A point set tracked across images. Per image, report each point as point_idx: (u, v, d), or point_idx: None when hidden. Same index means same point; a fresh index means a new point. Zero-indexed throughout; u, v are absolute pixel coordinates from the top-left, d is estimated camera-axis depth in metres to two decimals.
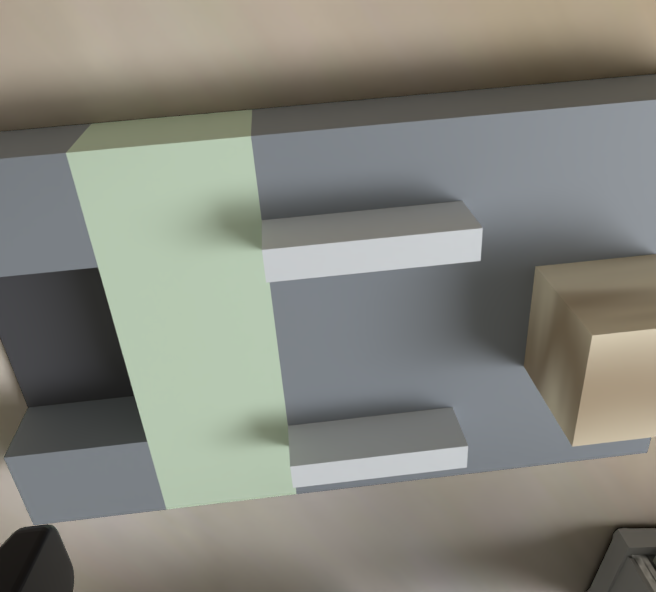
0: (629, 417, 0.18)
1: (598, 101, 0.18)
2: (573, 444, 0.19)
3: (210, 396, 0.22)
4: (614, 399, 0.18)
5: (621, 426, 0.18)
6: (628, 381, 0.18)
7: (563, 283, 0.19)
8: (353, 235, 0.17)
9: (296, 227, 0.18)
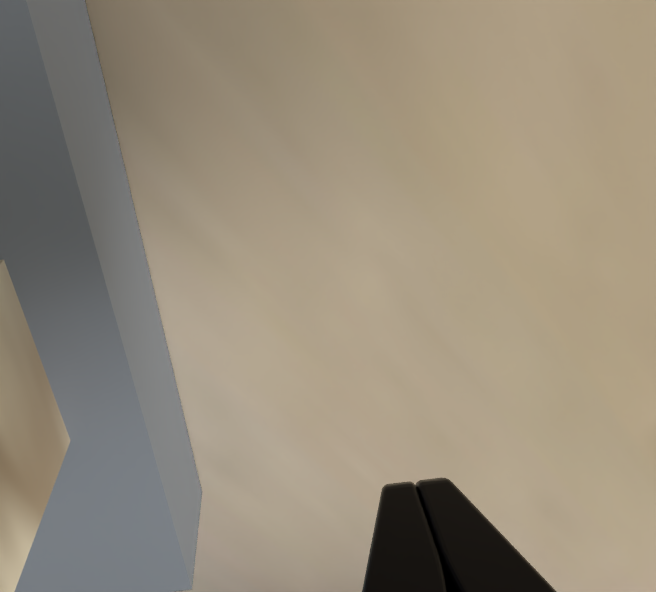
0: None
1: None
2: None
3: None
4: None
5: None
6: None
7: None
8: None
9: None
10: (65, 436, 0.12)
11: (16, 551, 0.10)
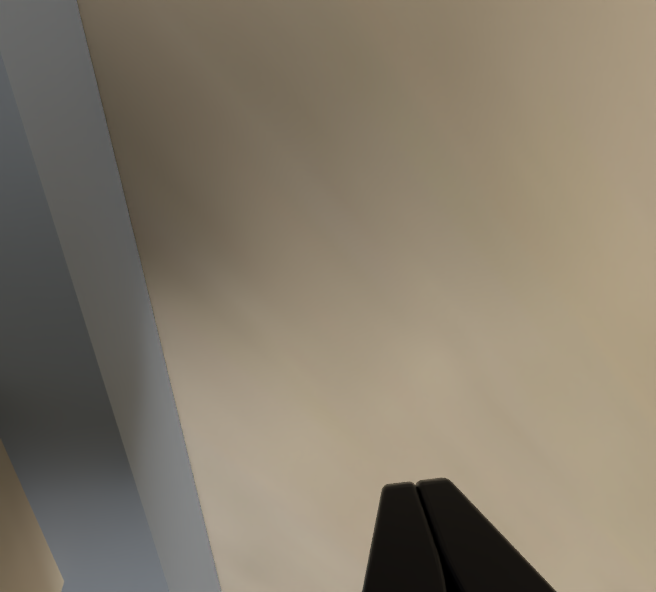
0: None
1: None
2: None
3: None
4: None
5: None
6: None
7: None
8: None
9: None
10: (58, 579, 0.09)
11: None
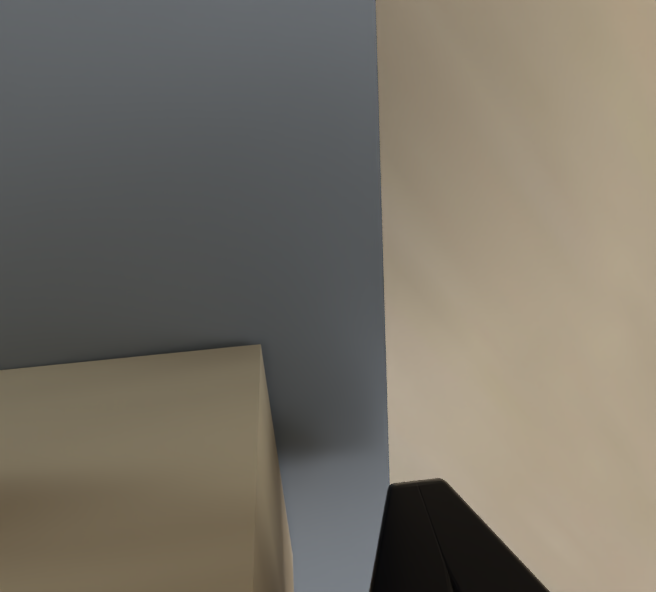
0: None
1: None
2: None
3: None
4: None
5: None
6: None
7: None
8: None
9: None
10: (291, 552, 0.10)
11: None
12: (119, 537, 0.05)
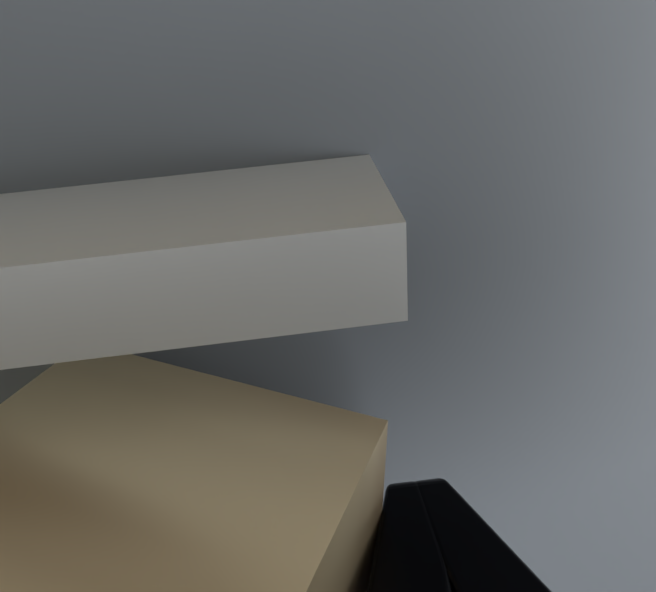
0: None
1: None
2: None
3: None
4: None
5: None
6: None
7: (36, 407, 0.07)
8: (7, 251, 0.06)
9: None
10: None
11: None
12: None
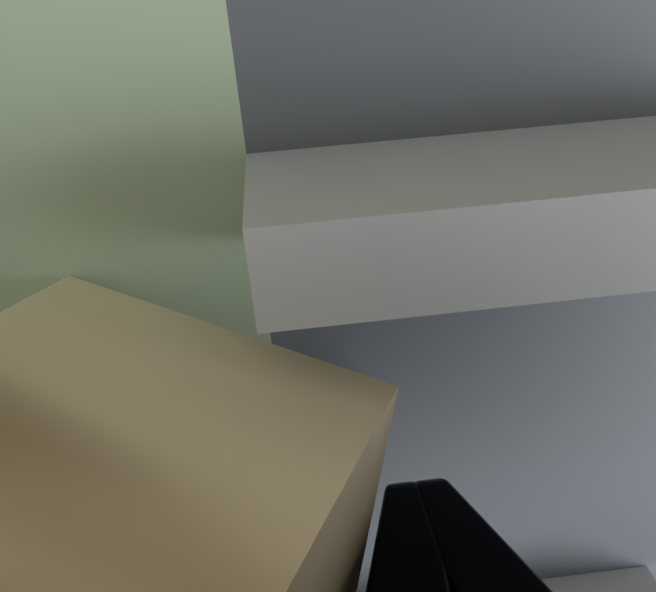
0: None
1: None
2: None
3: None
4: None
5: None
6: None
7: (11, 334, 0.06)
8: (533, 185, 0.05)
9: (346, 167, 0.06)
10: None
11: None
12: (114, 546, 0.04)
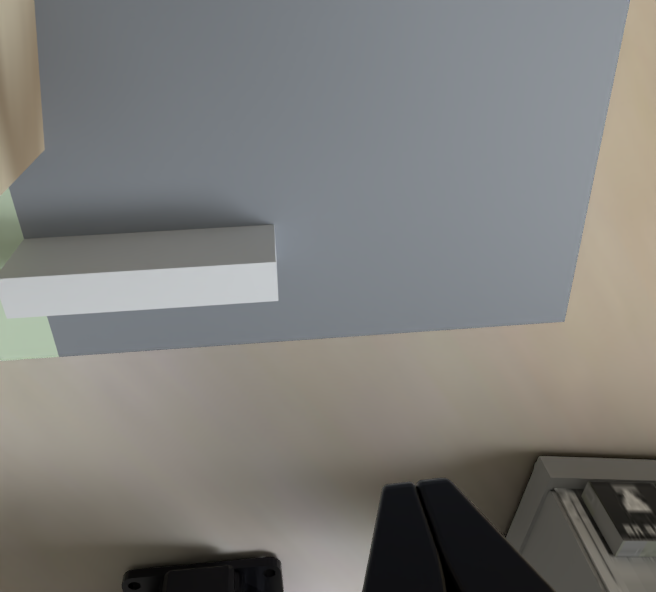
0: None
1: None
2: None
3: None
4: None
5: None
6: None
7: None
8: None
9: None
10: (42, 141, 0.14)
11: None
12: None
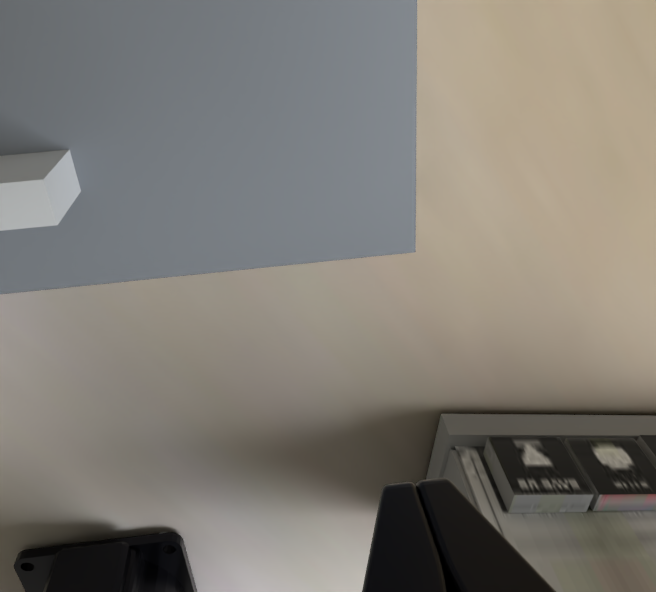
0: None
1: None
2: None
3: None
4: None
5: None
6: None
7: None
8: None
9: None
10: None
11: None
12: None
